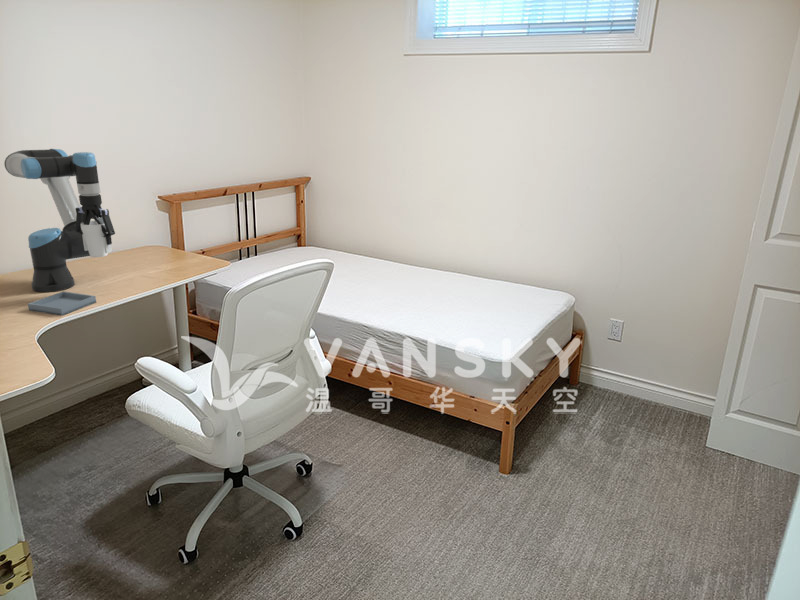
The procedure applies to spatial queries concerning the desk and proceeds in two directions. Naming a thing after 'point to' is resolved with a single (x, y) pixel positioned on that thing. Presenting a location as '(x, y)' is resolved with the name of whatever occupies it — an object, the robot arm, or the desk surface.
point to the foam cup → (94, 239)
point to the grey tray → (62, 303)
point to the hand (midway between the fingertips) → (98, 251)
